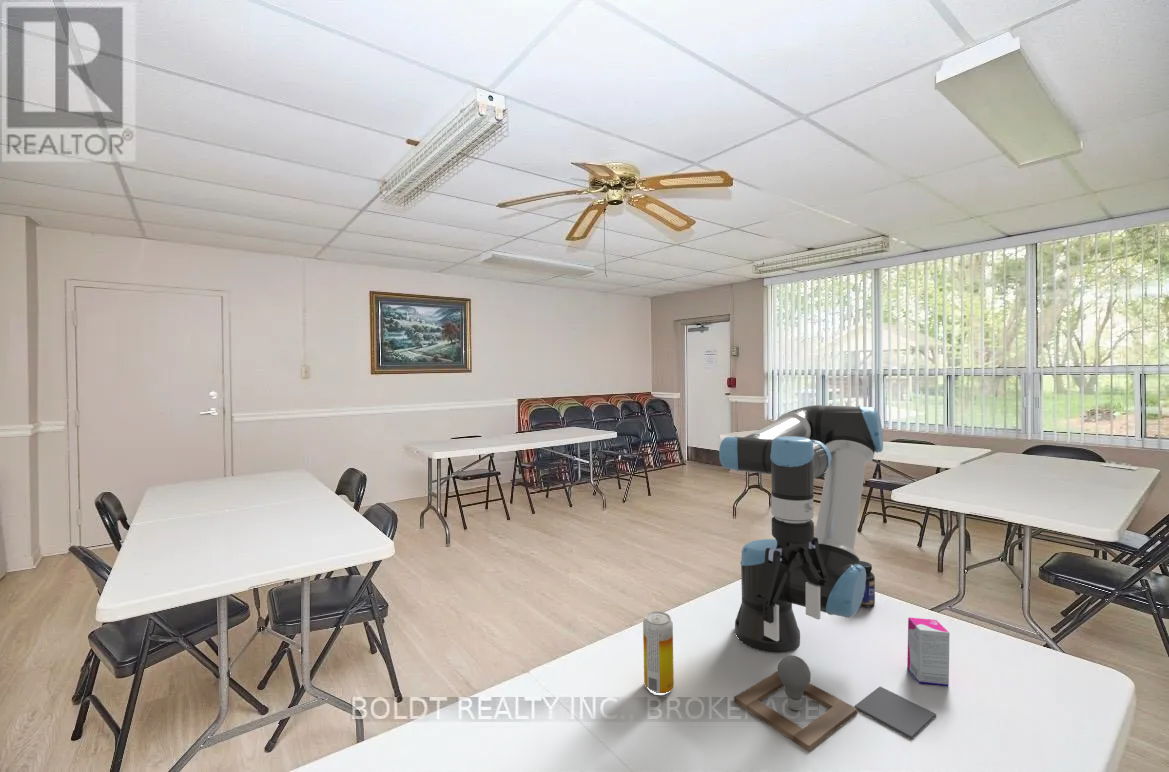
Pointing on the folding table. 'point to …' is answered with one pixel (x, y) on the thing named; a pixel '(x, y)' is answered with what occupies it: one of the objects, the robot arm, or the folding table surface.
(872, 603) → the pill bottle
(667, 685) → the beer can
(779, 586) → the robot arm
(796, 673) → the light bulb
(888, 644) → the folding table surface
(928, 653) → the supplement box
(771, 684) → the wooden picture frame
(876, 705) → the mat
